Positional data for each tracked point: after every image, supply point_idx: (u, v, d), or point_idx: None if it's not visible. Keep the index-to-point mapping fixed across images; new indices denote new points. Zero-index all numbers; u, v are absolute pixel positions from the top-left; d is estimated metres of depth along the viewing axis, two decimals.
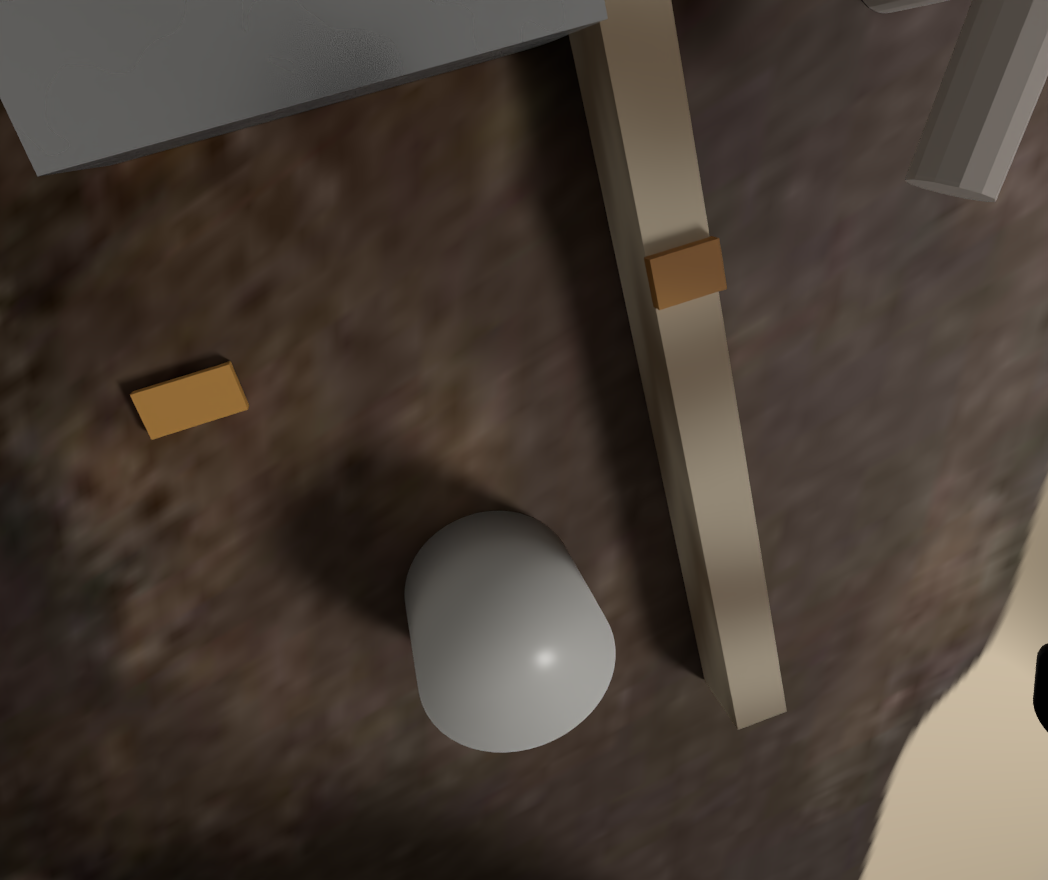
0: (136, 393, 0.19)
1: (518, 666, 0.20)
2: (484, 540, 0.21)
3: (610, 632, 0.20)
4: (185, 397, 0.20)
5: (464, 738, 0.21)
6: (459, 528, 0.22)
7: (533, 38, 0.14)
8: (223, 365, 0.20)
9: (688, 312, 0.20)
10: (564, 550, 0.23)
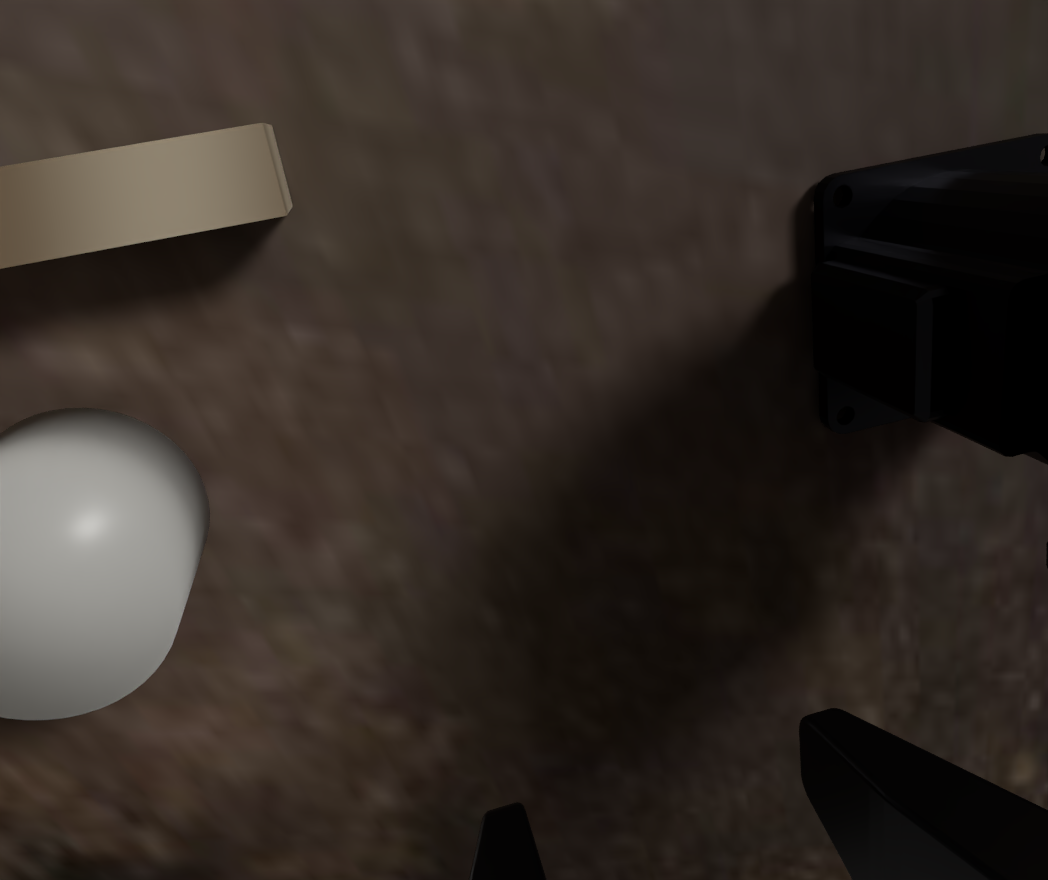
0: None
1: (26, 605, 0.15)
2: None
3: None
4: None
5: (147, 666, 0.16)
6: None
7: None
8: None
9: None
10: None
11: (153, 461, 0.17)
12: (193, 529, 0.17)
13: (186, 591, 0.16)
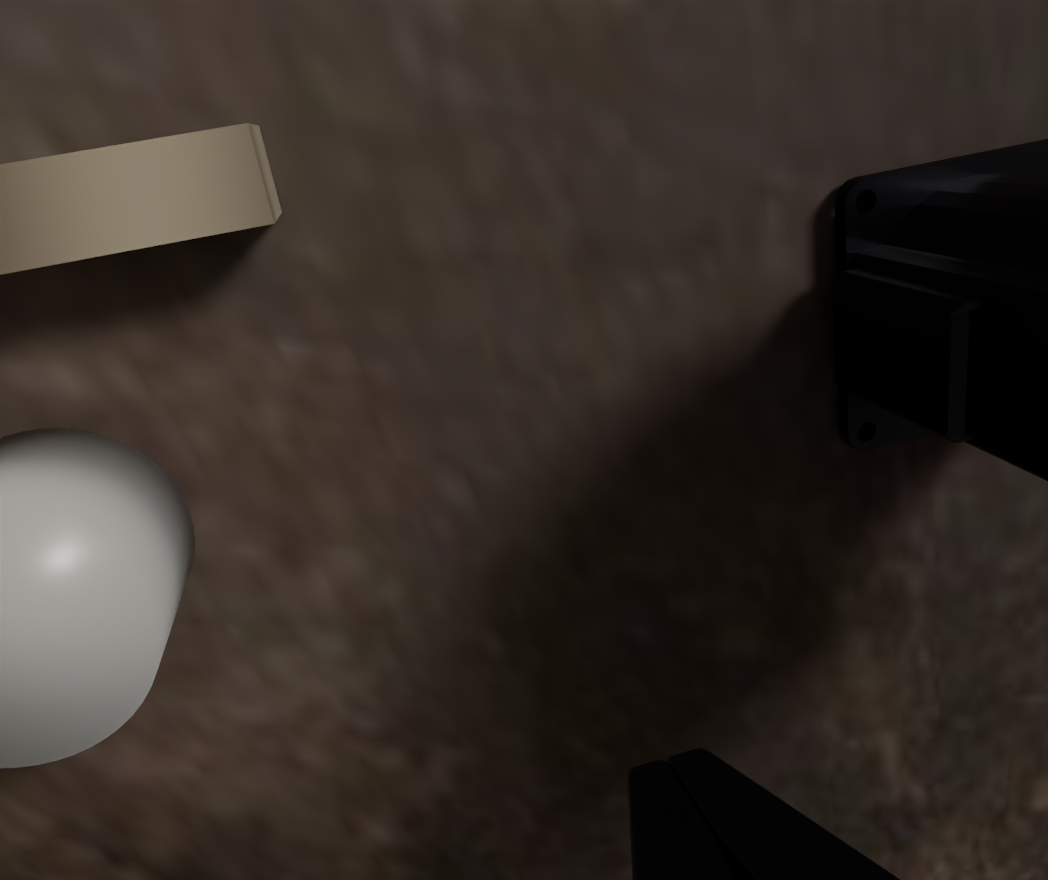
0: None
1: None
2: None
3: None
4: None
5: (125, 710, 0.15)
6: None
7: None
8: None
9: None
10: None
11: (132, 486, 0.16)
12: (175, 558, 0.16)
13: (167, 627, 0.15)
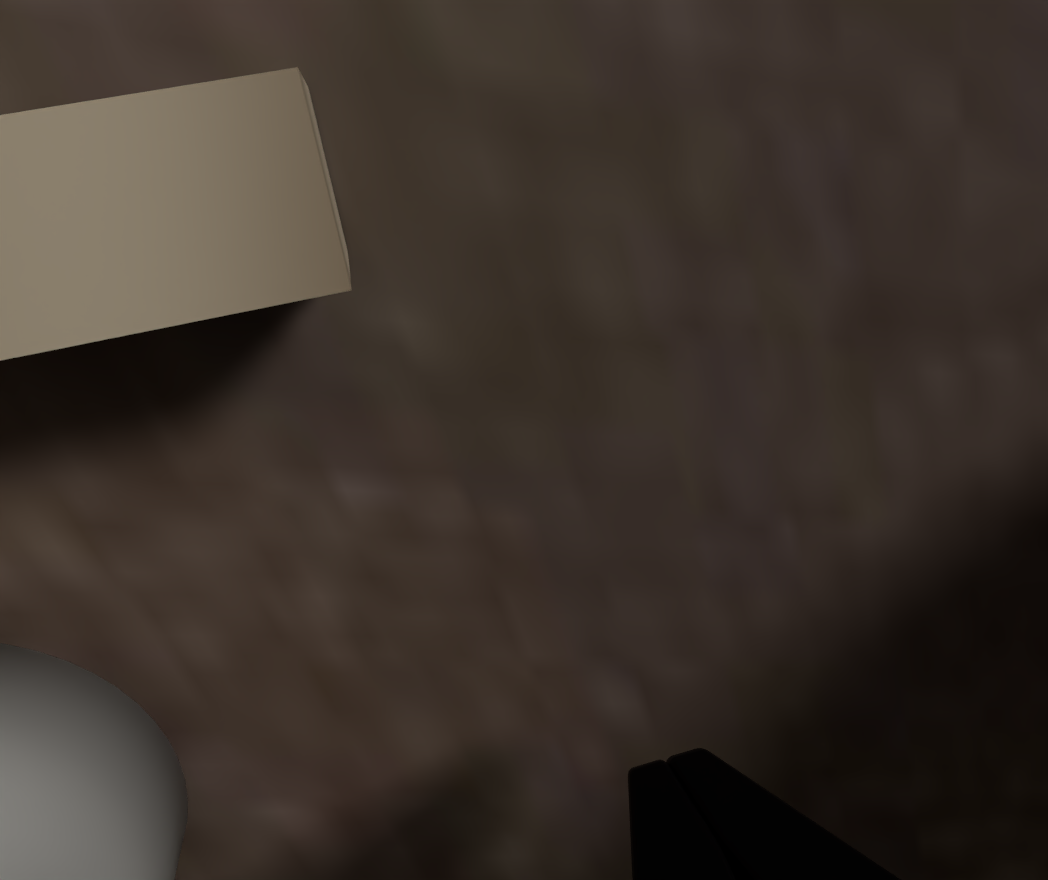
0: None
1: None
2: None
3: None
4: None
5: None
6: None
7: None
8: None
9: None
10: None
11: (67, 771, 0.08)
12: None
13: None
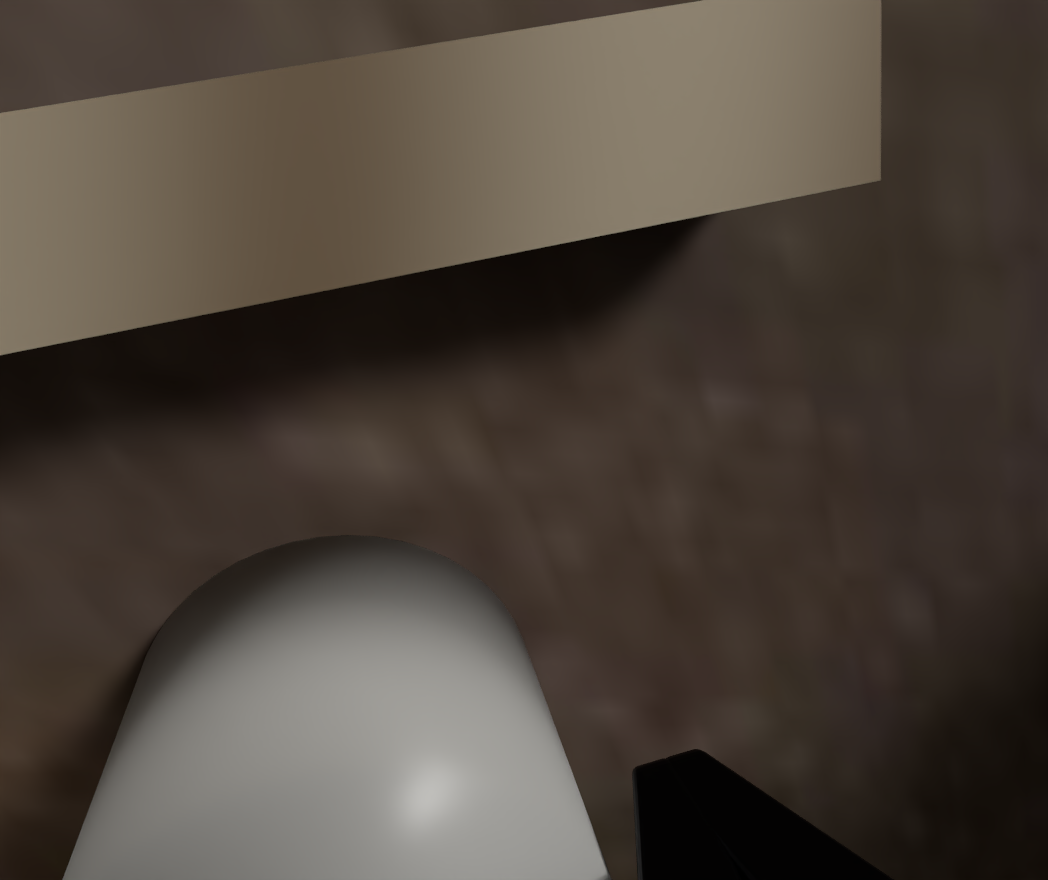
0: None
1: None
2: None
3: (245, 798, 0.06)
4: None
5: None
6: None
7: None
8: None
9: None
10: (188, 638, 0.09)
11: (501, 648, 0.09)
12: None
13: None
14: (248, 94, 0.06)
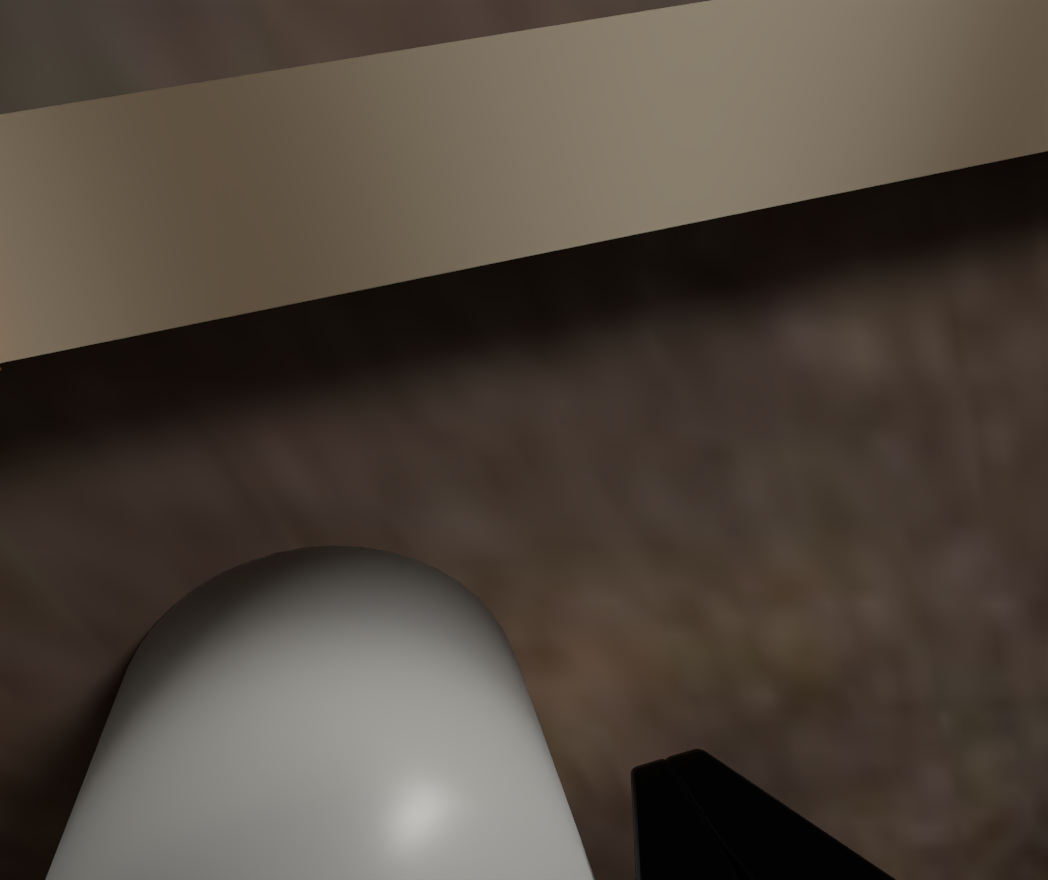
0: None
1: None
2: None
3: (223, 825, 0.06)
4: None
5: None
6: None
7: None
8: None
9: (14, 244, 0.06)
10: (168, 654, 0.08)
11: (490, 662, 0.09)
12: None
13: None
14: None
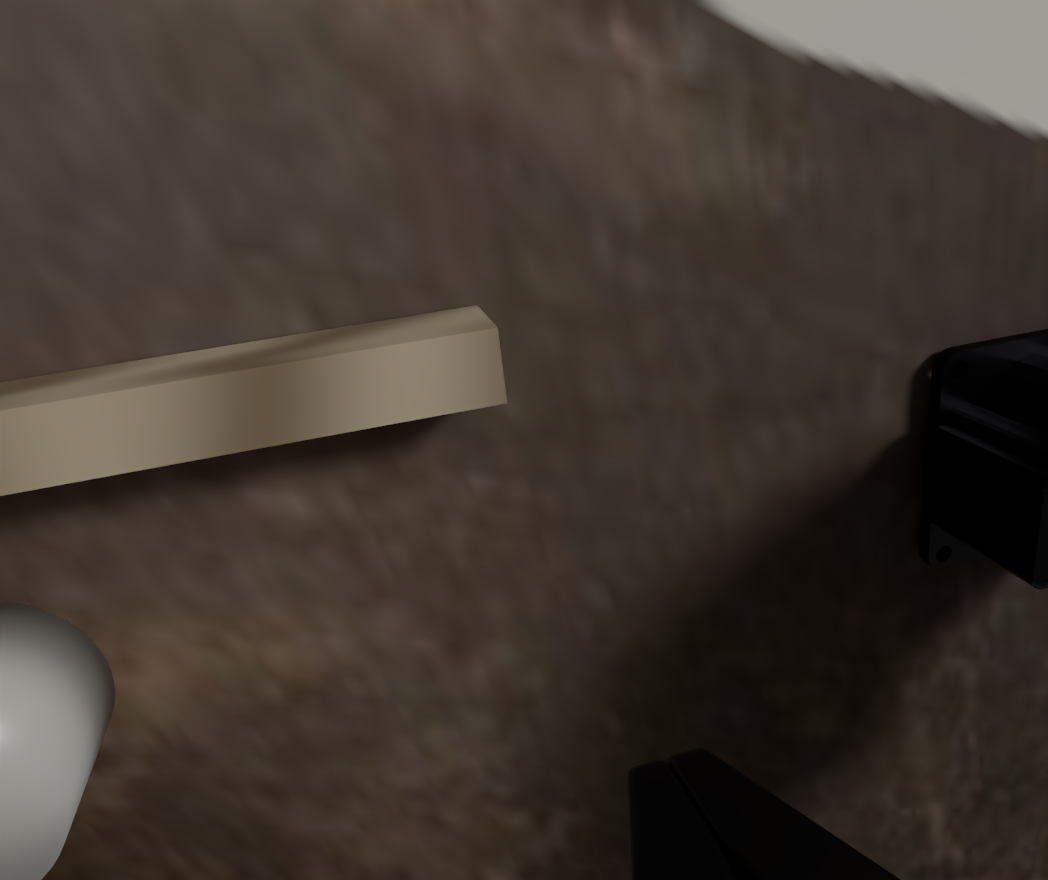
0: None
1: None
2: None
3: None
4: None
5: (35, 874, 0.16)
6: None
7: None
8: None
9: None
10: None
11: (54, 664, 0.18)
12: (91, 727, 0.18)
13: (78, 797, 0.17)
14: (241, 377, 0.15)
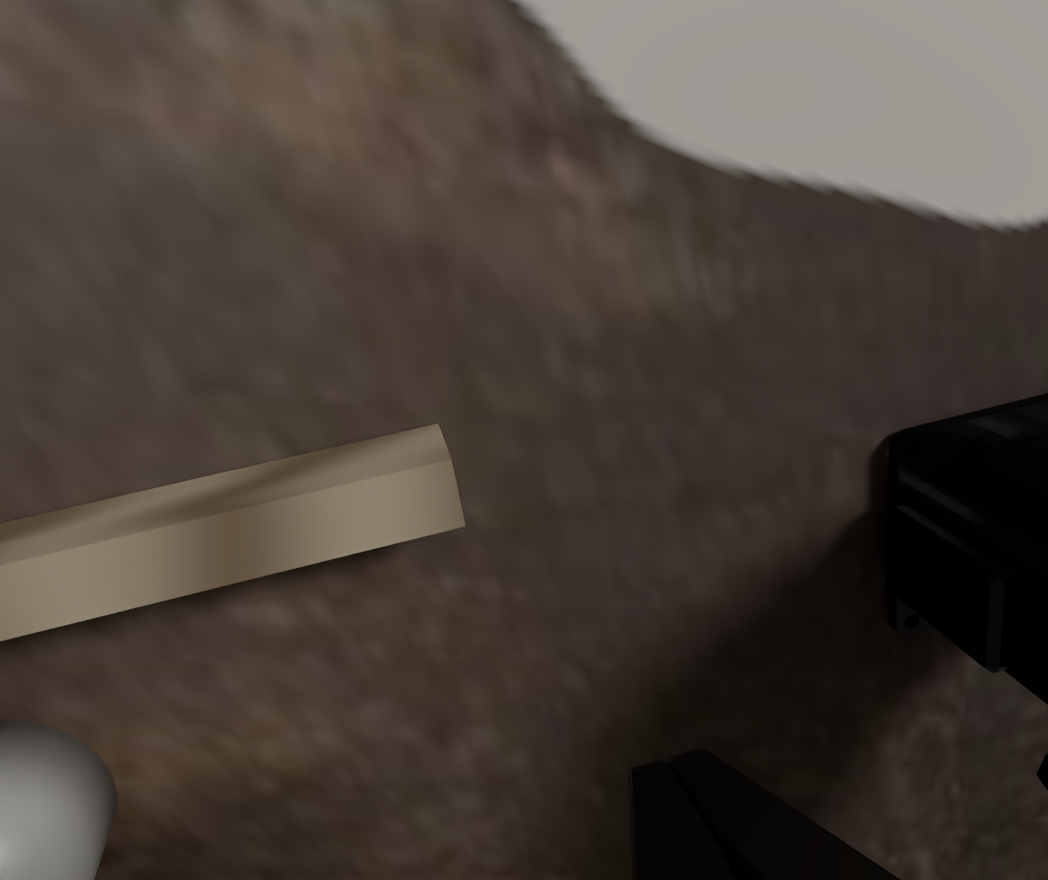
0: None
1: None
2: None
3: None
4: None
5: None
6: None
7: None
8: None
9: None
10: None
11: (55, 781, 0.19)
12: (92, 837, 0.19)
13: None
14: (211, 522, 0.17)
